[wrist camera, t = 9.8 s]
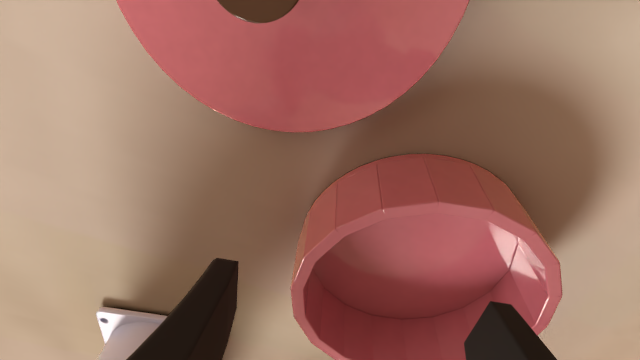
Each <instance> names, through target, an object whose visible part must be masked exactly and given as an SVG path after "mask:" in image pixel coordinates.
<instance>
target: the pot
mask: <svg viewBox="0 0 640 360" xmlns="http://www.w3.org/2000/svg"><path fill="white" fill-rule="evenodd" d="M291 297H292V306H293V315H294V318H295V319H296V321H297V322H298V324H299V325H300V327H301V328H302V330H303V331H304V333H305V334H306V336H307V337H308V339H309V340H310V342H311V343H312V344H314V345H315V346H317V347H318V348H319V349H321V350H322V351H323V352H325V353H326V354H328V355H329V356H330V357H332V358H333V359H335V360H466V356H465V348H464V342H465V340H466V339H467V337H468V335H469V334H470V332H471V331H472V329H473V328H474V326H475V324H476V323H477V321H478V320H479V318H480V316H481V315H482V313H483V312H484V310H485V308H486V307H487V305H488V304H489V302H490V301H493V302H500V303H506V304H511V305H512V306H513V307H514V308H515V309H516V310H517V312H518V313H519V314H520V315H521V316H522V318H523V319H524V320H525V321H526V322H527V324H528V325H529V326H530V327H531V329H532V330H533V331H534V332H535V333H536V335H538V334H539V333H541V332H542V331H543V330H544V329H545V328H546V327H547V325H548V324H549V322H550V320H551V318H552V316H553V314H554V312H555V310H556V308H557V306H558V304H559V302H560V300H561V298H562V284H561V271H560V263H559V260H558V259H557V257H556V256H555V254H554V253H553V251H552V250H551V248H550V247H549V245H548V243H547V242H546V240H545V239H544V237H543V236H542V234H541V233H540V231H539V230H538V228H537V227H536V225H535V224H534V222H533V221H532V219H531V218H530V216H529V215H528V213H527V212H526V210H525V209H524V208H523V206H522V205H521V204H520V202H519V201H518V199H517V198H516V197H515V195H514V194H513V192H512V191H511V190H510V189H509V187H508V186H507V185H506V184H505V183H503V182H502V181H501V180H500V179H499V178H498V177H496V176H495V175H493V174H492V173H491V172H489V171H487V170H485V169H483V168H482V167H480V166H478V165H476V164H473V163H470V162H467V161H465V160H462V159H458V158H454V157H449V156H444V155H434V154H407V155H399V156H392V157H388V158H384V159H380V160H376V161H373V162H371V163H368V164H365V165H362V166H360V167H358V168H356V169H354V170H352V171H350V172H348V173H347V174H345V175H344V176H342V177H341V178H339V179H338V180H336V181H335V182H333V183H332V184H331V185H330V186H329V187H328V188H327V189H325V190H324V191H323V192H322V194H321V195H320V196H319V197H318V198H317V199H316V201H315V202H314V204H313V205H312V207H311V208H310V210H309V211H308V214H307V216H306V218H305V221H304V223H303V228H302V231H301V234H300V236H299V240H298V246H297V252H296V258H295V264H294V270H293V276H292V282H291Z"/></svg>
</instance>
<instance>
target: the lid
mask: <svg viewBox="0 0 640 360" xmlns="http://www.w3.org/2000/svg"><path fill="white" fill-rule="evenodd" d="M116 1H117V3H118V5H119V8H120V9H121V11H122V13H123V15H124V17H125V18H126V20H127V22H128V24H129V26H130V27H131V29H132V31H133V32H134V34H135V35H136V37H137V38H138V40H139V41H140V42H141V44H142V45H143V47H144V48H145V50H146V51H147V52H148V54H149V55H150V56H151V57H152V58H153V59H154V61H155V62H156V63H157V64H158V65H159V66H160V68H161V69H162V70H163V71H164V72H165V73H166V74H167V75H168V76H169V77H170V78H171V79H173V80H174V81H175V82H176V83H177V84H178V85H179V86H180V87H181V88H183V89H184V90H185V91H186V92H188V93H189V94H190V95H192V96H193V97H194V98H196V99H197V100H198V101H200V102H202V103H203V104H205V105H207V106H208V107H210V108H211V109H213V110H215V111H217V112H219V113H221V114H223V115H225V116H227V117H229V118H231V119H234V120H236V121H239V122H242V123H245V124H248V125H251V126H254V127H259V128H263V129H268V130H273V131H283V132H314V131H321V130H328V129H333V128H336V127H340V126H344V125H348V124H351V123H353V122H356V121H358V120H361V119H363V118H365V117H368V116H370V115H372V114H374V113H375V112H377V111H379V110H381V109H383V108H384V107H386V106H388V105H389V104H390V103H392V102H393V101H395V100H396V99H397V98H399V97H400V96H402V95H403V94H404V93H405V92H406V91H408V90H409V89H410V88H411V87H412V86H413V85H414V84H415V83H416V82H417V81H418V80H420V79H421V78H422V76H423V75H424V74H425V73H426V72H427V71H428V70H429V68H430V67H431V66H432V65H433V64H434V63H435V61H436V60H437V59H438V57H439V56H440V54H441V53H442V51H443V50H444V49H445V47H446V46H447V44H448V43H449V41H450V40H451V38H452V36H453V34H454V32H455V30H456V29H457V27H458V25H459V23H460V21H461V19H462V17H463V15H464V13H465V10H466V8H467V5H468V3H469V0H116Z"/></svg>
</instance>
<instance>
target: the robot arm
mask: <svg viewBox="0 0 640 360" xmlns="http://www.w3.org/2000/svg"><path fill="white" fill-rule="evenodd" d="M237 285H238V261H232V260H226V259H219V258H216V259H214V260H213V261H212V262H211V264H210V265H209V266H208V268H207V269H206V271H205V272H204V273H203V275H202V276H201V277H200V279H199V280H198V281H197V282H196V284H195V285H194V286H193V287H192V289H191V290H190V291H189V292H188V293H187V295H186V296H185V297H184V298H183V299H182V301H181V302H180V303H179V304H178V305H177V306H176V307H175V309H174V310H173V311H172V312H171V313H170V314H169V315H168V316H165V315H158V314H151V313H144V312H137V311H130V310H123V309H116V308H109V307H100V308H99V309H98V310H97V312H96V316H97V319H98V322H99V326H100V329H101V332H102V335H103V339H104V342H105V346H104V347H103V349H102V351H101V352H100V354H99V356H98V357H97V359H96V360H222V357H223V354H224V351H225V349H226V346H227V343H228V339H229V335H230V332H231V328H232V324H233V320H234V316H235V312H236V308H237ZM464 348H465V356H466V360H557V359H556V358H555V357H554V355H553V354H552V353H551V352H550V351H549V349H548V348H547V347H546V346H545V344H544V343H543V342H542V341H541V340H540V338H539V337H538V336H537V335H536V333H535V332H534V331H533V330H532V329H531V327H530V326H529V325H528V324H527V322H526V321H525V320H524V319H523V318H522V316H521V315H520V314H519V313H518V312H517V310H516V309H515V308H514V307H513V306H512V305H511V304H506V303H500V302H493V301H490V302H489V304H488V305H487V307H486V308H485V310H484V312H483V313H482V315H481V316H480V318H479V320H478V321H477V323H476V324H475V326H474V328H473V329H472V331H471V332H470V334H469V335H468V337H467V339H466V340H465V342H464Z"/></svg>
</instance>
